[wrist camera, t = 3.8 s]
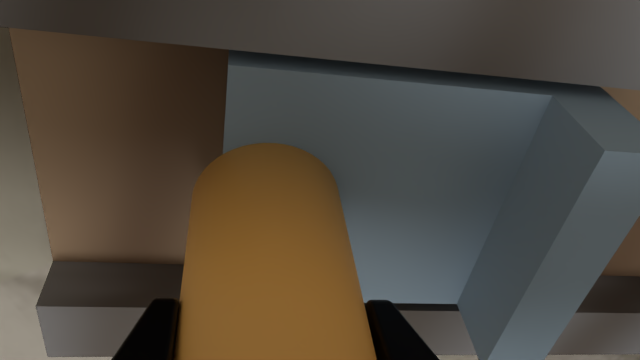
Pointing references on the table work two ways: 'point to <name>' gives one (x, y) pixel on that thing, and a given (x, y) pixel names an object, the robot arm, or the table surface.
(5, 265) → the table surface
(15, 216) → the table surface
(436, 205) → the press jaw
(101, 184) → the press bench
